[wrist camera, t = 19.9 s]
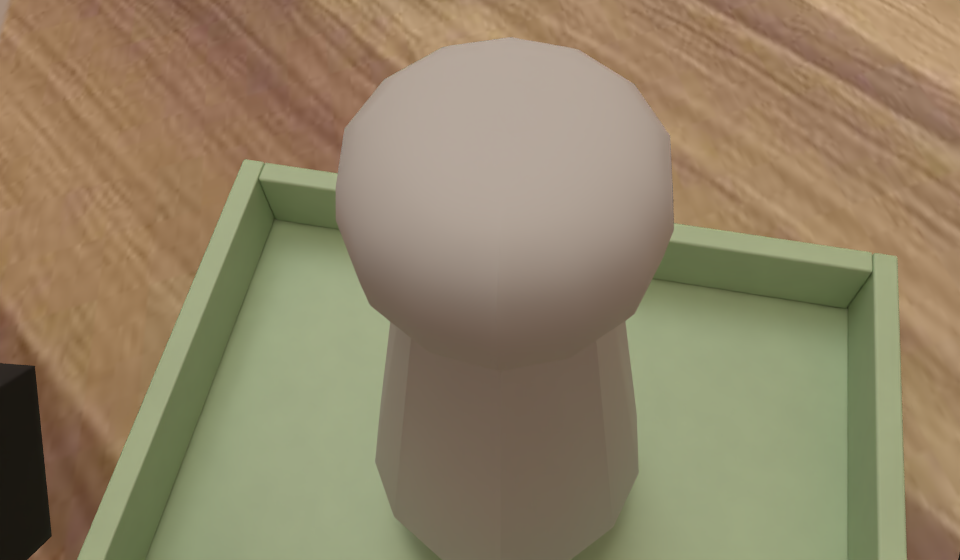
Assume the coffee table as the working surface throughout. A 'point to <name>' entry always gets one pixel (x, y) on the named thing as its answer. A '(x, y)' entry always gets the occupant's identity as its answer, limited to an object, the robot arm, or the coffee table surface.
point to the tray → (656, 380)
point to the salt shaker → (506, 289)
